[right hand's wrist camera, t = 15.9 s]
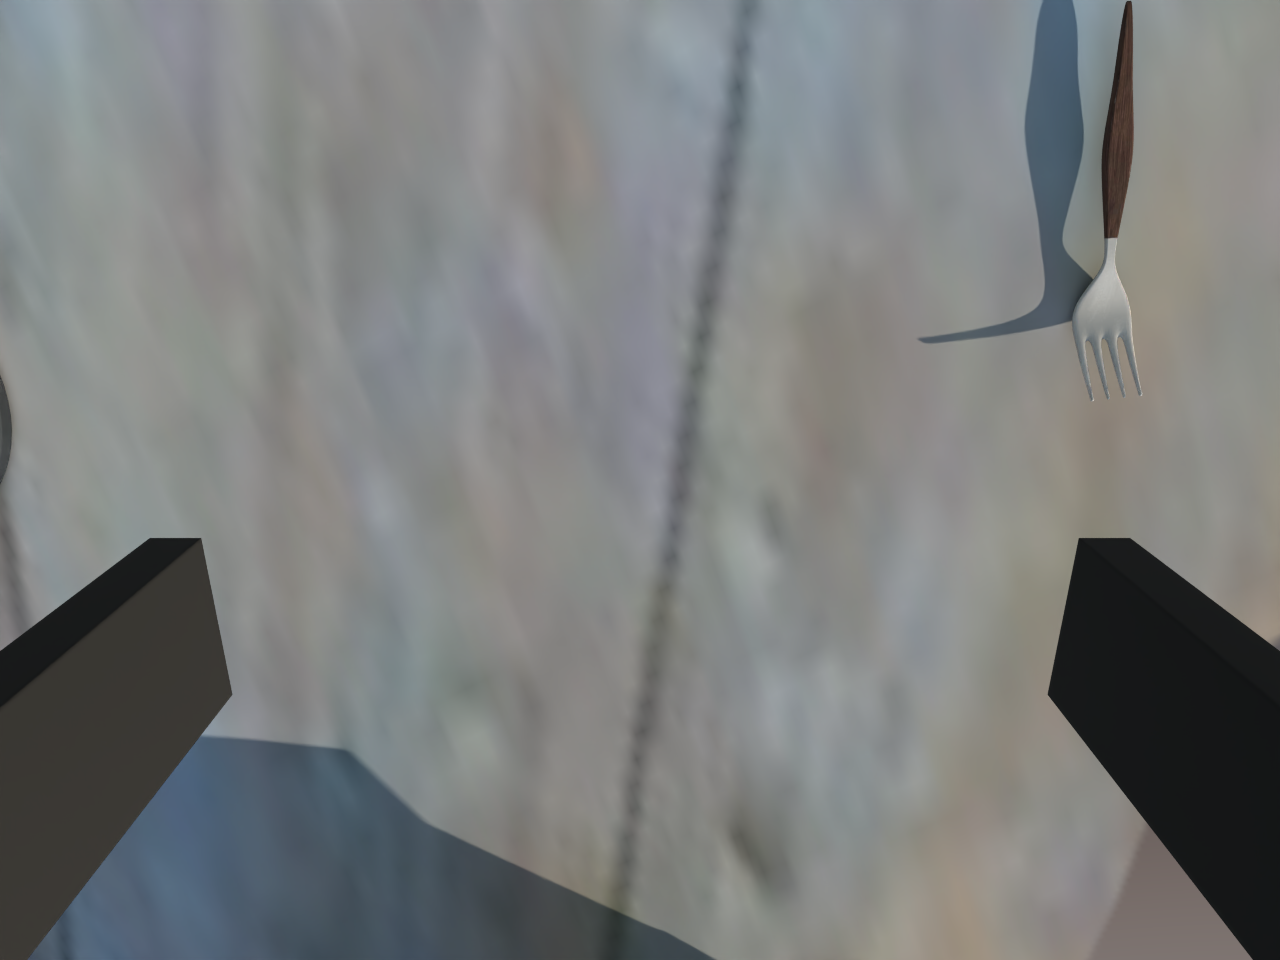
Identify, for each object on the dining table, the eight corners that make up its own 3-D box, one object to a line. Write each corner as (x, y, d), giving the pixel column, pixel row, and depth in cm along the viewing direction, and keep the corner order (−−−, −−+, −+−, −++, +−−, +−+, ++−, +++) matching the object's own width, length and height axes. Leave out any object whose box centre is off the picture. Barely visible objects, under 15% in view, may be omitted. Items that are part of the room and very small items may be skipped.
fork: (1155, -1, 34) (1185, -12, 32) (1122, 385, 39) (1146, 395, 37) (1089, 7, 34) (1115, -2, 32) (1066, 391, 39) (1087, 402, 37)
